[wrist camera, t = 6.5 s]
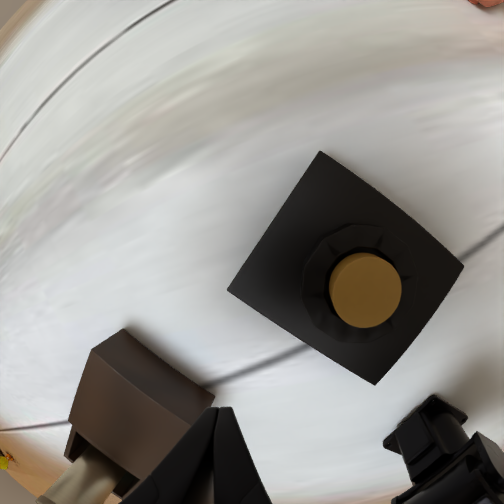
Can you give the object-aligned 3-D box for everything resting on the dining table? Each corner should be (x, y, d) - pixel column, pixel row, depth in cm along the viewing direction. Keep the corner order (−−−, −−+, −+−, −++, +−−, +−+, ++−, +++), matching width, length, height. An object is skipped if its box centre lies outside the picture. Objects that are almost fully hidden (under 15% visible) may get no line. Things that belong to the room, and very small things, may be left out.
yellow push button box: (450, 261, 17) (479, 271, 13) (368, 370, 19) (380, 401, 15) (317, 157, 18) (322, 142, 14) (234, 282, 20) (218, 298, 16)
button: (403, 276, 14) (414, 283, 13) (365, 328, 15) (372, 340, 13) (354, 239, 15) (361, 241, 13) (315, 293, 15) (317, 303, 14)
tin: (142, 452, 23) (83, 533, 11) (129, 467, 24) (77, 538, 12) (104, 424, 24) (35, 495, 11) (95, 442, 25) (35, 505, 12)
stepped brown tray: (215, 396, 21) (198, 430, 17) (139, 478, 25) (124, 501, 21) (123, 328, 22) (91, 349, 17) (79, 433, 26) (59, 452, 21)
